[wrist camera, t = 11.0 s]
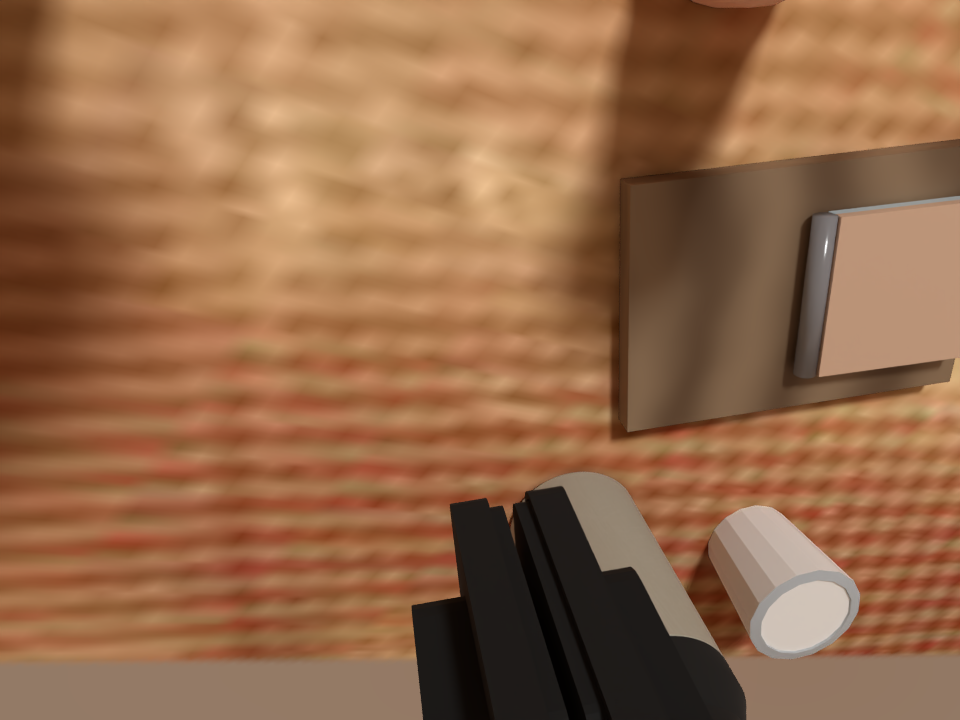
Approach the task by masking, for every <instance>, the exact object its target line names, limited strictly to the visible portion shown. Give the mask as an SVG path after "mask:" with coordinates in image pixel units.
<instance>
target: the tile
mask: <svg viewBox="0 0 960 720" xmlns="http://www.w3.org/2000/svg"><path fill="white" fill-rule="evenodd" d="M953 358H960V196H954V197H945V198H937V199H929V200H920V201H912V202H903V203H895V204H886V205H878V206H869V207H861V208H852V209H844V210H835V211H828V212H818V213H814V214H813V215H812V223H811V231H810V239H809V247H808V255H807V263H806V271H805V279H804V287H803V295H802V303H801V310H800V318H799V326H798V334H797V342H796V350H795V358H794V366H793V374H794V375H795V376H797V377H800V378H813V377H815V376H816V375H817V376H818V377H823V376H830V375H838V374H845V373H852V372H859V371H866V370H874V369H881V368H888V367H895V366H903V365H910V364H917V363H924V362H931V361H939V360H946V359H953Z"/></svg>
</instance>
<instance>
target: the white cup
mask: <svg viewBox="0 0 960 720" xmlns="http://www.w3.org/2000/svg"><path fill="white" fill-rule="evenodd" d="M708 556H709V558H710V560H711V562H712V564H713V566H714V568H715V570H716V572H717V574H718V576H719V578H720V580H721V582H722V584H723V586H724V588H725V589H726V591H727V593H728V595H729V597H730V599H731V601H732V603H733V605H734V607H735V609H736V611H737V613H738V615H739V617H740V619H741V621H742V623H743V625H744V627H745V629H746V631H747V633H748V635H749V637H750V639H751V640H752V642H753V643H754V645H755V647H756V648H757V650H758V651H759V652H761V653H763V654H765V655H767V656H769V657H771V658H779V659H795V658H799V657H803V656H807V655H811V654H814V653H815V652H817V651H819V650H821V649H823V648H825V647H826V646H828V645H830V644H832V643H833V642H834V641H835V640H836V639H837V638H839V637H840V636H841V635H842V634H843V633H844V632H845V631H846V630H847V629H848V628H849V626H850V625H851V623H852V621H853V619H854V618H855V616H856V614H857V612H858V608H859V600H860V593H859V591H858V589H857V587H856V585H855V583H854V581H853V580H852V579H851V578H850V577H849V576H848V575H847V574H846V573H845V572H844V571H843V570H842V569H841V568H839V567H838V566H837V565H836V564H835V563H834V562H833V561H832V560H831V559H830V558H829V557H828V556H827V555H826V554H824V553H823V552H822V551H821V550H820V549H819V548H818V547H817V546H816V545H815V544H814V543H813V542H812V541H810V540H809V539H808V538H807V537H806V536H805V535H804V534H803V533H802V532H801V531H800V530H799V529H798V528H796V527H795V526H794V525H793V524H792V523H791V522H790V521H789V520H788V519H787V518H786V517H785V516H784V515H783V514H781V513H780V512H778V511H776V510H775V509H773V508H772V507H766V506H757V505H756V506H752V507H747V508H743V509H740V510H738V511H736V512H735V513H733V514H731V515H729V516H728V517H726V518H725V519H724V520H723V521H722V522H721V523H720V524H719V525H718V526H717V527H716V528H715V529H714V531H713V533H712V536H711V538H710V540H709V542H708Z"/></svg>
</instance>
